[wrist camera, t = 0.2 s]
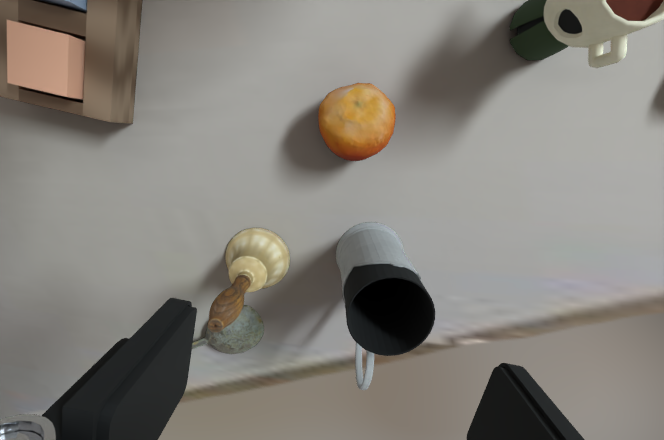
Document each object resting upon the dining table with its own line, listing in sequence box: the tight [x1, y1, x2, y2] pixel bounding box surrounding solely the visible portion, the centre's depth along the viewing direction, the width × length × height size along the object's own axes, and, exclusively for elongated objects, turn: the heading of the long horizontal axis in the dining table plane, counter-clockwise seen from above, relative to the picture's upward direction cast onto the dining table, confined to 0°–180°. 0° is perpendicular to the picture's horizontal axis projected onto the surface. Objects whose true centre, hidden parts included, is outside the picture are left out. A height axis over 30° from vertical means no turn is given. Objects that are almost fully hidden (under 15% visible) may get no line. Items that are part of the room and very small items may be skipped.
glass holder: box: [336, 222, 435, 390], centre depth 35 cm, size 9×14×15 cm, turn 168°
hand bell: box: [208, 228, 290, 332], centre depth 34 cm, size 8×8×16 cm
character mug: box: [510, 0, 664, 68], centre depth 29 cm, size 11×7×13 cm, turn 11°
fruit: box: [318, 83, 395, 161], centre depth 35 cm, size 8×8×8 cm
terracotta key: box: [7, 20, 86, 99], centre depth 32 cm, size 6×6×3 cm
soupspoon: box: [192, 305, 264, 354], centre depth 44 cm, size 22×3×7 cm
